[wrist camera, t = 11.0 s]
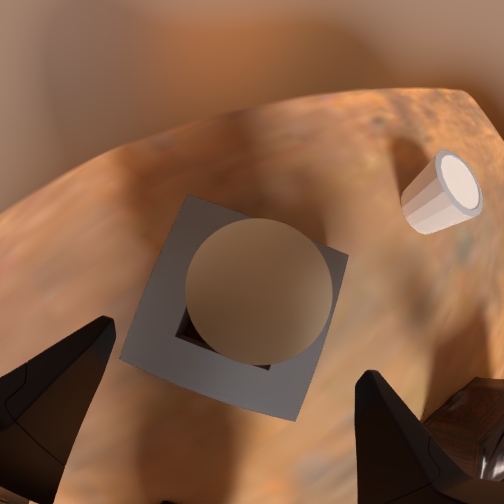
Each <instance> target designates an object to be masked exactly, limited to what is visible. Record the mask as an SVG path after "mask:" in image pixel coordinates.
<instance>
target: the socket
mask: <svg viewBox="0 0 504 504" xmlns="http://www.w3.org/2000/svg"><path fill="white" fill-rule="evenodd" d="M245 219H255V218H253V217H250V216H247V215H245V214H242V213H239V212H237V211H234V210H231V209H228V208H226V207H223V206H220V205H217V204H215V203H212V202H209V201H206V200H203V199H201V198H198V197H195V196H192V195H189V194H188V195H187V197H186V199H185V201H184V203H183V205H182V207H181V209H180V211H179V213H178V215H177V217H176V219H175V222H174V224H173V226H172V228H171V230H170V232H169V235H168V237H167V239H166V241H165V243H164V246H163V248H162V250H161V252H160V255H159V257H158V259H157V262H156V264H155V266H154V269H153V271H152V273H151V276H150V278H149V281H148V283H147V285H146V288H145V290H144V293H143V295H142V298H141V300H140V303H139V306H138V308H137V311H136V313H135V316H134V319H133V321H132V324H131V327H130V330H129V332H128V335H127V338H126V341H125V344H124V347H123V350H122V353H121V355H120V358H119V359H121V360H123V361H125V362H127V363H129V364H131V365H133V366H135V367H137V368H139V369H141V370H143V371H145V372H148V373H150V374H152V375H154V376H157V377H159V378H161V379H164V380H166V381H168V382H171V383H173V384H176V385H178V386H181V387H183V388H186V389H188V390H191V391H193V392H196V393H199V394H202V395H204V396H207V397H210V398H213V399H216V400H219V401H222V402H225V403H228V404H231V405H234V406H237V407H241V408H244V409H248V410H251V411H255V412H258V413H262V414H266V415H270V416H273V417H278V418H282V419H286V420H290V421H296V419H297V416H298V414H299V411H300V409H301V406H302V404H303V401H304V399H305V396H306V393H307V391H308V388H309V385H310V383H311V380H312V377H313V374H314V372H315V369H316V366H317V363H318V360H319V357H320V354H321V351H322V348H323V345H324V342H325V339H326V336H327V333H328V329H329V326H330V323H331V319H332V316H333V313H334V309H335V306H336V302H337V299H338V295H339V291H340V288H341V284H342V280H343V276H344V272H345V268H346V264H347V260H348V256H349V255H347V254H345V253H342V252H340V251H337V250H335V249H332V248H330V247H327V246H325V245H323V244H320V243H318V242H315V241H312V240H311V241H312V242H313V244H314V245H315V246H316V247H317V248H318V250H319V251H320V253H321V254H322V256H323V258H324V260H325V262H326V264H327V267H328V269H329V272H330V276H331V281H332V305H331V310H330V314H329V317H328V319H327V322H326V324H325V326H324V328H323V330H322V331H321V333H320V334H319V336H318V337H317V338H316V340H315V341H314V342H313V343H312V344H311V345H310V346H309V347H308V348H307V349H305V350H304V351H303V352H301V353H300V354H298V355H296V356H295V357H293V358H291V359H288V360H286V361H284V362H280V363H276V364H271V365H249V364H243V363H240V362H237V361H233V360H231V359H229V358H227V357H225V356H223V355H221V354H220V353H218V352H217V351H215V350H214V349H213V348H212V347H210V346H209V345H207V344H205V343H202V342H200V341H197V340H195V339H192V338H190V337H187V336H185V335H183V334H184V331H185V328H186V326H187V323H188V320H189V318H190V315H189V313H188V310H187V304H186V298H185V284H186V277H187V272H188V269H189V266H190V263H191V261H192V259H193V257H194V255H195V253H196V252H197V250H198V249H199V247H200V246H201V245H202V244H203V243H204V241H205V240H206V239H207V238H208V237H210V236H211V235H212V234H213V233H214V232H216V231H217V230H219V229H221V228H222V227H224V226H226V225H229V224H231V223H233V222H237V221H240V220H245Z"/></svg>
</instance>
